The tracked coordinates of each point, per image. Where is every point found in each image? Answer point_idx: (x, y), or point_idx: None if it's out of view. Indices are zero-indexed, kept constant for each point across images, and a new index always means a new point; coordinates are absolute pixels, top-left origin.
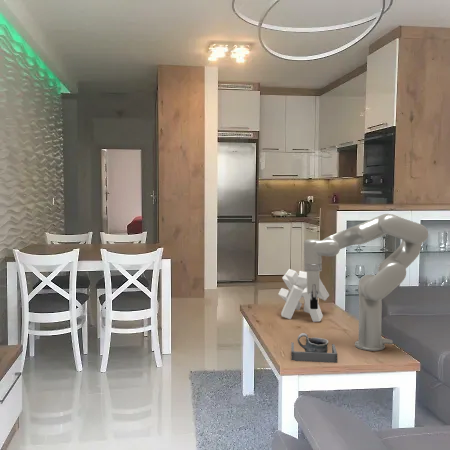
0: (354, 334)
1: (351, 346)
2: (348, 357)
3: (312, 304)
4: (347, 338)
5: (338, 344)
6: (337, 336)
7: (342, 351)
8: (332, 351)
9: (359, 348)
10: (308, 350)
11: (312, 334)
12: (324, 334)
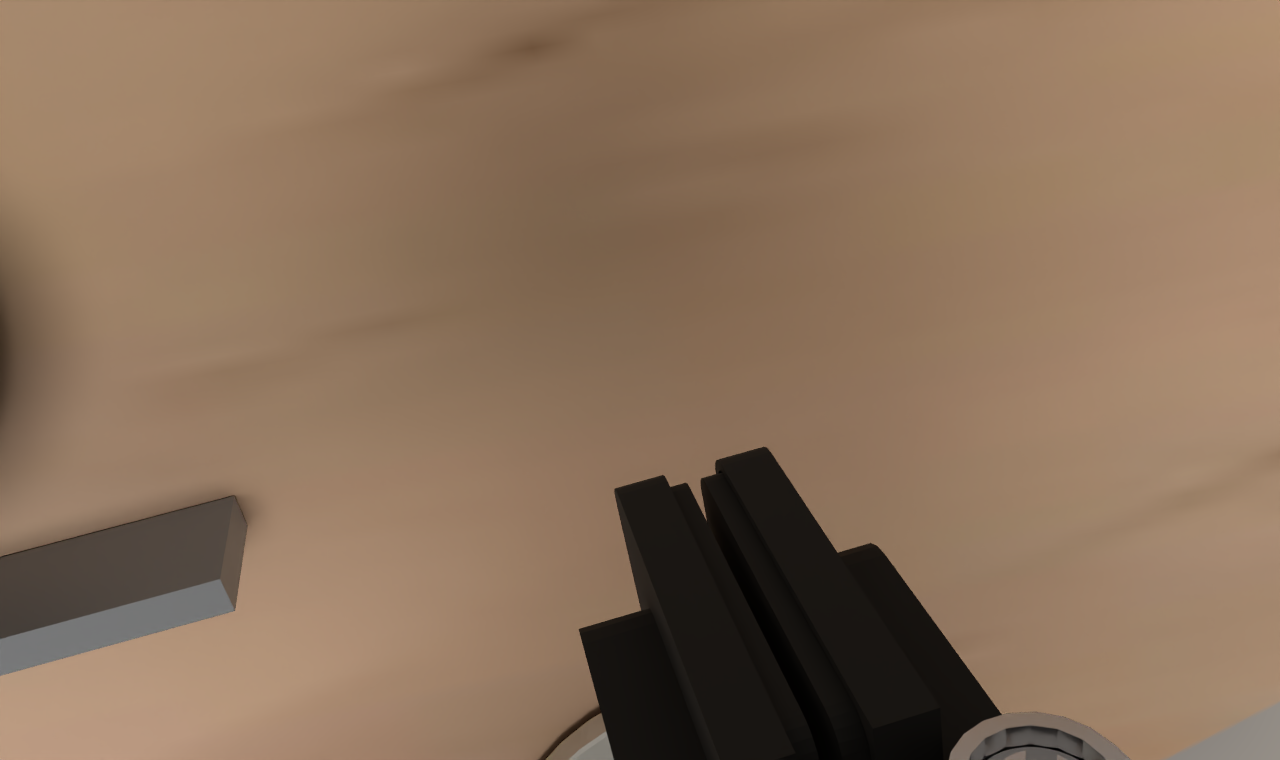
0: (1179, 570)
1: None
2: (106, 722)
3: (604, 714)
4: (992, 535)
5: None
6: (1071, 405)
7: (354, 606)
8: (107, 556)
9: (554, 750)
10: None
11: (1150, 13)
12: (1160, 210)
